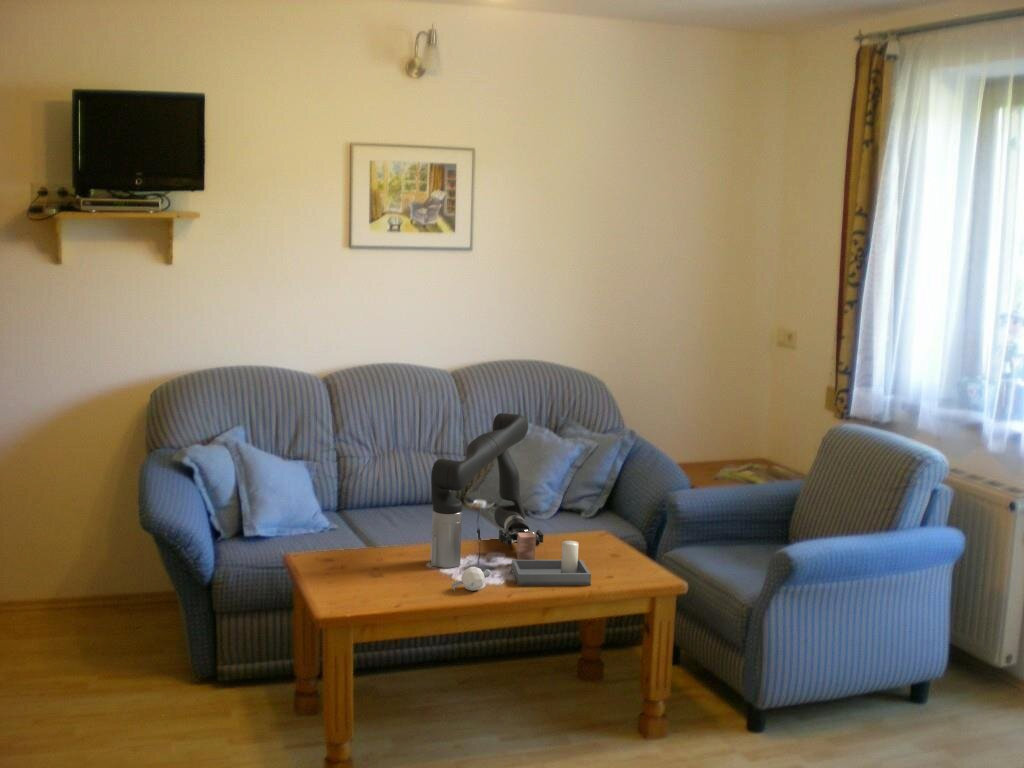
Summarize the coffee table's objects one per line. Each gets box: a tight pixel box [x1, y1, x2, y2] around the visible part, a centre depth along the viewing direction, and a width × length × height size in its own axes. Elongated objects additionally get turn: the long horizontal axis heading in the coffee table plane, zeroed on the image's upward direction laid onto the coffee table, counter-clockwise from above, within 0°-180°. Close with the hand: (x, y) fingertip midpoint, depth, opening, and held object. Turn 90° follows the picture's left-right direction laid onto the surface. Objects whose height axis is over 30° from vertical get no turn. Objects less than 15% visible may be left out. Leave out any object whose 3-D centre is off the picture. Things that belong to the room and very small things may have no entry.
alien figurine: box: [451, 566, 492, 592], centre depth 322 cm, size 7×7×12 cm
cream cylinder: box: [560, 540, 580, 573], centre depth 337 cm, size 5×5×10 cm
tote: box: [511, 559, 592, 587], centre depth 336 cm, size 22×14×4 cm, turn 98°
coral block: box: [515, 532, 536, 560], centre depth 347 cm, size 5×5×10 cm
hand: (524, 543), depth 351 cm, fingers open, 8 cm apart
